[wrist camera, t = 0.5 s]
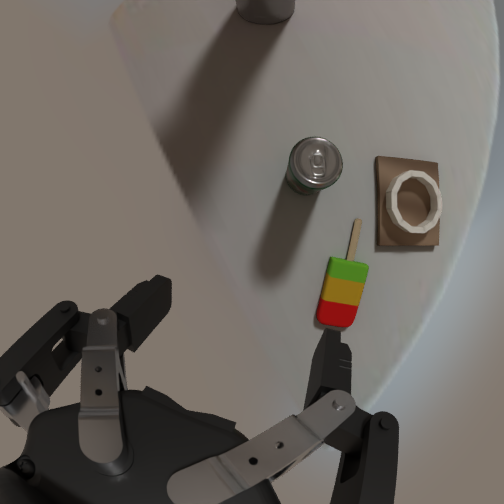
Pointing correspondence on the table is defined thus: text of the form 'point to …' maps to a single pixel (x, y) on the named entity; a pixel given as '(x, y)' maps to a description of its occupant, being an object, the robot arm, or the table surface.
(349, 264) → the popsicle
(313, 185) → the soda can
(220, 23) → the table surface
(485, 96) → the table surface
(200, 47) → the table surface
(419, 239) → the socket plate
